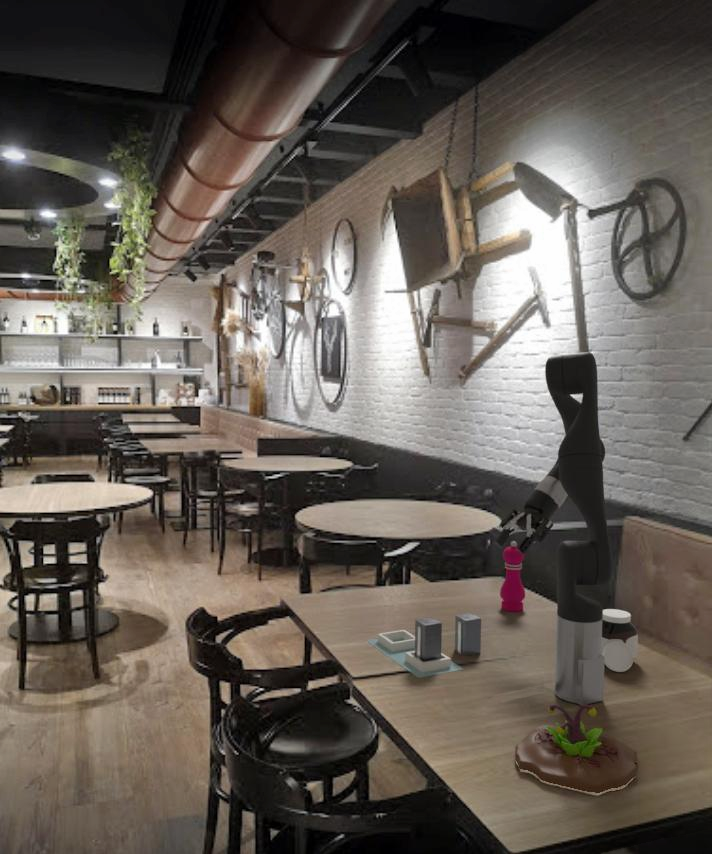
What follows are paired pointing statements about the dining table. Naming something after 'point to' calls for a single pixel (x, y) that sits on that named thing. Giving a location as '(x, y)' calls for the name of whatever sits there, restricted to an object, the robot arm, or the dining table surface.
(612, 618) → the spread jar
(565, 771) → the plant
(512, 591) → the pepper mill
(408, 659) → the pallet
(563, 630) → the robot arm
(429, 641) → the seated billet
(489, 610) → the dining table surface
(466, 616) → the loose billet
